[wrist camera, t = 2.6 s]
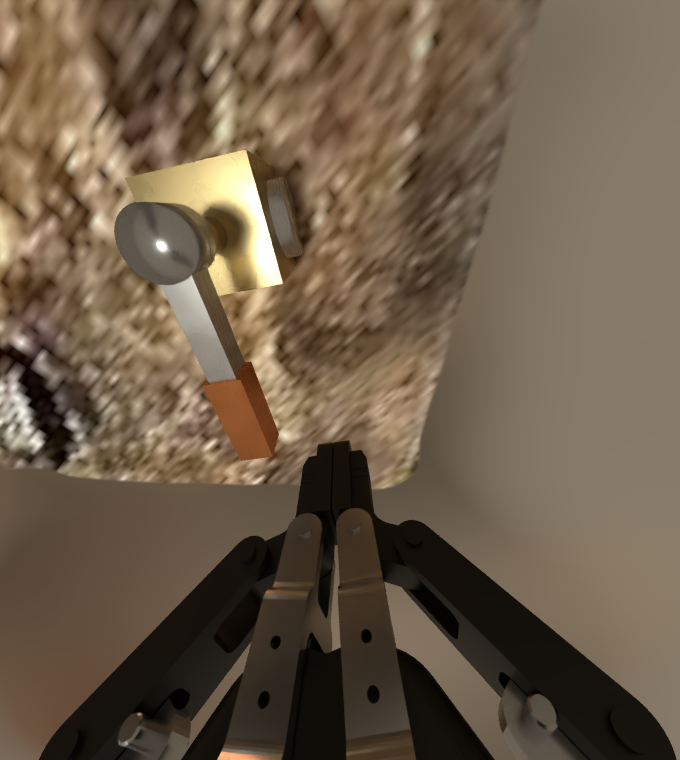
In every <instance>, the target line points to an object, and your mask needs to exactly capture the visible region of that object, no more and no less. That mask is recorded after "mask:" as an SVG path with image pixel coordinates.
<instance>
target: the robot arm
mask: <svg viewBox="0 0 680 760" xmlns="http://www.w3.org/2000/svg"><path fill="white" fill-rule="evenodd" d="M335 545H337V547H338V560H339V561H338V562H339V577H340V585H339V587H338V608H339V623H340V643H341V648H339V649H337V650H334V651H332V631H331V612H332V599H333V587H334V574H335V560H334V548H335ZM384 582H387V583H391V584H394V585H397V586H400V587H402V588H403V589H404V591H405V592H406V593H407V594H408V595H409V596H410V597H411V599H412V600H413V601H414V602H415V603H416V604H417V605H418V606H419V607H420V609H421V610H422V611H423V612H424V613H425V614H426V615H427V616H428V617H429V619H430V620H431V621H432V622H433V623H434V624H435V625H436V626H437V627H438V629H439V630H440V631H441V632H442V633H443V634H444V635H445V636H446V637H447V638H448V639H449V641H450V642H451V643H452V644H453V645H454V646H455V647H456V648H457V650H458V651H459V652H460V653H461V654H462V655H463V656H464V657H465V658H466V660H467V661H468V662H469V663H470V664H471V665H472V666H473V667H474V668H475V669H476V671H477V672H478V673H479V674H480V675H481V676H482V677H483V678H484V679H485V681H486V682H487V683H488V684H489V685H490V686H491V687H492V688H493V689H494V691H495V692H496V693H497V694H498V695H499V696H500V697H501V700H500V703H499V710H498V716H499V723H500V728H501V731H502V734H503V737H504V739H505V741H506V743H507V745H508V747H509V748H510V750H511V751H512V753H513V754H514V756H515V757H516V758H517V760H676V756H675V753H674V750H673V748H672V745H671V743H670V741H669V739H668V737H667V735H666V733H665V732H664V730H663V729H662V727H661V726H660V724H659V723H658V721H657V720H656V719H655V717H653V715H652V714H651V713H650V712H649V711H648V709H646V707H645V706H643V704H641V703H640V702H639V701H638V700H637V699H636V698H634V697H633V696H632V695H631V694H630V693H628V692H627V691H626V690H625V689H624V688H622V687H621V686H620V685H619V684H618V683H616V682H615V681H614V680H613V679H612V678H610V677H609V676H608V675H607V674H605V673H604V672H603V671H602V670H601V669H600V668H598V667H597V666H596V665H595V664H593V663H592V662H591V661H590V660H589V659H587V658H586V657H585V656H584V655H583V654H581V653H580V652H579V651H578V650H577V649H575V648H574V647H573V646H572V645H570V644H569V643H568V642H567V641H566V640H564V639H563V638H562V637H561V636H560V635H558V634H557V633H556V632H555V631H554V630H552V629H551V628H550V627H549V626H547V625H546V624H545V623H544V622H542V621H541V620H540V619H539V618H538V617H537V616H535V615H534V614H533V613H532V612H530V611H529V610H528V609H527V608H526V607H524V606H523V605H522V604H521V603H520V602H518V601H517V600H516V599H515V598H514V597H512V596H511V595H510V594H509V593H508V592H506V591H505V590H504V589H503V588H501V587H500V586H499V585H498V584H496V583H495V582H494V581H493V580H492V579H490V578H489V577H488V576H487V575H486V574H485V573H483V572H482V571H481V570H480V569H478V568H477V567H476V566H475V565H474V564H472V563H471V562H470V561H469V560H467V559H466V558H465V557H464V556H463V555H461V554H460V553H459V552H458V551H457V550H456V549H454V548H453V547H452V546H451V545H449V544H448V543H447V542H446V541H445V540H443V539H442V538H441V537H440V536H439V535H437V534H436V533H435V532H434V531H432V530H431V529H430V528H429V527H428V526H426V525H425V524H424V523H422V522H419V521H415V520H408V521H405V522H403V523H401V524H400V525H399V526H398V525H394V524H389V523H386V522H384V521H382V520H380V519H379V518H378V517H377V516H376V515H375V514H374V508H373V499H372V490H371V481H370V475H369V469H368V464H367V458H366V456H365V455H364V454H363V452H362V451H361V450H358V451H352V450H351V445H350V441H349V440H348V441H341V442H334V443H326V444H319V445H318V450H317V456H312V457H308V459H307V461H306V462H305V464H304V466H303V471H302V478H301V485H300V492H299V499H298V505H297V513H296V517H295V519H294V520H293V521H292V522H291V523H290V524H289V527H288V529H287V530H286V531H285V532H283V533H282V534H280V535H278V536H276V537H273V538H271V539H269V540H267V541H264V539H263V538H261V537H259V536H250V537H248V538H245V539H243V540H242V541H241V542H240V543H238V545H236V546H235V547H234V549H233V550H232V551H231V552H230V553H229V554H228V555H227V556H226V557H225V558H224V559H223V560H222V561H221V562H220V563H219V564H218V565H217V566H216V567H215V568H214V569H213V570H212V571H211V572H210V573H209V574H208V575H207V576H206V578H204V579H203V580H202V581H201V583H199V584H198V586H197V587H196V588H195V589H194V590H193V591H192V592H191V593H190V594H189V595H188V596H187V597H186V598H185V599H184V600H183V601H182V602H181V603H180V604H179V605H178V606H177V607H176V608H175V609H174V610H173V611H172V612H171V613H170V614H169V615H168V617H166V618H165V619H164V620H163V622H162V623H161V624H160V625H159V626H158V627H157V628H156V629H155V630H154V631H153V632H152V633H151V634H150V635H149V636H148V637H147V638H146V639H145V640H144V641H143V642H142V643H141V644H140V645H139V646H138V647H137V648H136V649H135V650H134V651H133V652H132V653H131V654H130V655H129V656H128V657H127V658H126V660H125V661H124V662H123V663H122V664H121V665H120V666H119V667H118V668H117V669H116V670H115V671H114V672H113V673H112V674H111V675H110V676H109V677H108V678H107V679H106V680H105V681H104V682H103V683H102V684H101V685H100V686H99V687H98V688H97V689H96V690H95V691H94V693H92V694H91V696H90V697H89V698H88V699H87V700H86V701H85V702H84V703H83V704H82V705H81V706H80V707H79V708H78V709H77V710H76V711H75V712H74V713H73V714H72V715H71V716H70V717H69V718H68V719H67V720H66V721H65V722H64V723H63V724H62V726H61V727H60V728H59V729H58V730H57V731H56V733H55V734H54V735H53V736H52V738H51V739H50V741H49V742H48V744H47V745H46V747H45V749H44V751H43V752H42V754H41V757H40V759H39V760H495V759H494V758H493V757H492V755H491V754H490V753H489V752H488V750H487V749H486V747H485V746H484V745H483V743H482V742H481V741H480V739H479V738H478V737H477V735H476V734H475V732H474V731H473V730H472V729H471V727H470V726H469V724H468V723H467V722H466V720H465V719H464V718H463V716H462V715H461V714H460V712H459V711H458V710H457V708H456V707H455V706H454V704H453V703H452V702H451V700H450V699H449V698H448V696H447V695H446V694H445V692H444V691H443V689H442V688H441V687H440V685H439V684H438V683H437V681H436V680H435V679H434V677H433V676H432V675H431V673H430V672H429V671H428V670H427V669H426V668H425V667H424V666H423V665H422V664H421V663H420V662H419V661H417V660H416V659H415V658H414V657H412V656H411V655H409V654H408V653H406V652H404V651H402V650H400V649H397V648H396V643H395V637H394V632H393V627H392V621H391V616H390V611H389V606H388V601H387V595H386V589H385V584H384ZM251 641H252V642H251ZM250 642H251V646H250V650H249V653H248V657H247V661H246V665H245V669H244V672H243V673H242V674H241V675H240V676H239V677H238V679H237V680H236V681H235V682H234V683H233V685H232V686H231V688H230V689H229V690H228V692H227V693H226V695H225V696H224V698H223V699H222V701H221V702H220V704H219V705H218V706H217V708H216V710H215V711H214V712H213V714H212V715H211V717H210V718H209V719H208V721H207V722H206V724H205V726H204V727H203V728H202V730H201V731H200V733H199V734H198V736H197V737H196V739H195V740H194V741H193V743H192V744H191V746H190V747H189V749H188V744H189V737H190V731H191V721H192V720H193V718H194V717H195V716H196V714H197V713H198V712H199V710H200V709H201V708H202V706H203V705H204V704H205V702H206V701H207V699H208V698H209V697H210V696H211V694H212V693H213V692H214V690H215V689H216V688H217V686H218V685H219V683H220V682H221V681H222V680H223V678H224V677H225V676H226V674H227V673H228V672H229V670H230V669H231V668H232V666H233V665H234V663H235V662H236V661H237V659H238V658H239V657H240V656H241V654H242V653H243V651H244V650H245V649H246V648H247V646H248V645H249V644H250ZM187 749H188V750H187ZM186 751H187V752H186Z"/></svg>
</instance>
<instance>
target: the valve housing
mask: <svg viewBox="0 0 680 760" xmlns="http://www.w3.org/2000/svg"><path fill="white" fill-rule="evenodd" d="M125 179H126V181H127V183H128V186H129V188H130V190H131V192H132V194H133V196H134V198H135V201H136V202H159V203H178V204H183V205H186V206H188V207H190V208H192V209H193V210H195V211H196V212H198V213H199V214H200V215H201V216H202V217H203V218H204V219H205V220H206V222H207V223H208V225H209V226H210V228H211V230H212V232H213V234H214V238H215V242H216V255H215V259H214V261H213V263H212V265H211V266H210V267H209V268H208V271H209V274H210V276H211V279H212V281H213V284H214V286H215V289H216V291H217V294H218V296H220V295H225V294H230V293H236V292H241V291H246V290H252V289H257V288H262V287H267V286H273V285H278V284H283V283H284V281H285V280H286V279H287V277H288V276H289V275H290V273H291V272H292V271H293V269H294V268H295V267H296V261H295V256H300V255H302V240H301V233H300V228H299V223H298V218H297V214H296V209H295V206H294V202H293V198H292V195H291V192H290V189H289V186H288V184H287V181H286V179H285V178H284V177H279V178H275V175H274V171H273V167H272V166H270V165H269V164H267V163H266V162H264V161H263V160H261V159H259V158H258V157H256V156H255V155H253V154H252V153H250V152H249V151H247V150H242V151H238V152H234V153H229V154H225V155H221V156H217V157H213V158H208V159H204V160H200V161H196V162H191V163H187V164H183V165H179V166H175V167H170V168H166V169H162V170H158V171H154V172H149V173H145V174H141V175H137V176H132V177H128V178H125Z"/></svg>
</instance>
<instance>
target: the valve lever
mask: <svg viewBox="0 0 680 760" xmlns="http://www.w3.org/2000/svg"><path fill="white" fill-rule="evenodd" d="M114 232H115V239H116V243H117V246H118V249H119V251H120V253H121V255H122V257H123V258H124V260H125V261H126V262H127V264H128V265H129V266H130V267H131V268H132V269H133V270H134V271H135V272H136V273H137V274H139V275H140V276H141V277H143V278H144V279H146V280H148V281H150V282H153V283H156V284H159V285H161V287H162V289H163V291H164V293H165V295H166V297H167V299H168V301H169V303H170V305H171V307H172V309H173V311H174V313H175V315H176V317H177V319H178V321H179V323H180V325H181V327H182V329H183V331H184V333H185V335H186V337H187V339H188V341H189V343H190V345H191V347H192V349H193V351H194V353H195V355H196V358H197V360H198V362H199V364H200V366H201V368H202V370H203V372H204V374H205V376H206V378H207V381H206V382H205V384H204V385H203V387H204V389H205V391H206V393H207V395H208V397H209V399H210V401H211V403H212V405H213V407H214V409H215V411H216V413H217V415H218V417H219V419H220V421H221V423H222V425H223V426H224V428H225V430H226V432H227V434H228V436H229V438H230V440H231V442H232V444H233V446H234V448H235V450H236V452H237V454H238V456H239V458H240V460H241V461H243V460H251V459H258V458H266V457H273V454H274V450H275V447H276V443H277V439H278V435H279V433H278V430H277V428H276V425H275V422H274V420H273V417H272V415H271V412H270V409H269V407H268V404H267V402H266V399H265V396H264V394H263V391H262V389H261V386H260V384H259V381H258V378H257V376H256V373H255V371H254V368H253V365H252V363H251V362H245V361H244V359H243V356H242V354H241V351H240V349H239V346H238V344H237V341H236V339H235V336H234V334H233V331H232V329H231V326H230V324H229V321H228V319H227V316H226V314H225V311H224V309H223V306H222V304H221V301H220V299H219V296H218V294H217V291H216V289H215V286H214V284H213V281H212V279H211V276H210V274H209V271H208V268H209V267H210V266H211V265H212V263H213V261H214V259H215V255H216V242H215V238H214V234H213V232H212V230H211V228H210V226H209V225H208V223H207V222H206V220H205V219H204V218H203V217H202V216H201V215H200V214H199V213H198V212H196V211H195V210H193V209H192V208H190V207H188V206H186V205H183V204H178V203H159V202H135V203H132V204H129V205H127V206H126V207H124V208H123V209H122V210H121V211H120V213H119V214H118V216H117V218H116V221H115V230H114Z"/></svg>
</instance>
